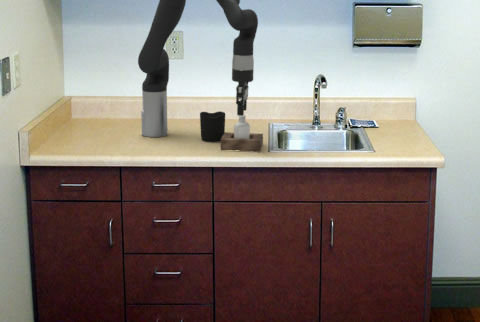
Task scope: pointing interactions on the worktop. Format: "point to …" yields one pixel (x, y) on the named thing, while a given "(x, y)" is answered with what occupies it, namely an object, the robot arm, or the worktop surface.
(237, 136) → the eye dropper bottle
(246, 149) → the recessed rectangular tray
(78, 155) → the worktop surface
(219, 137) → the pen holder
